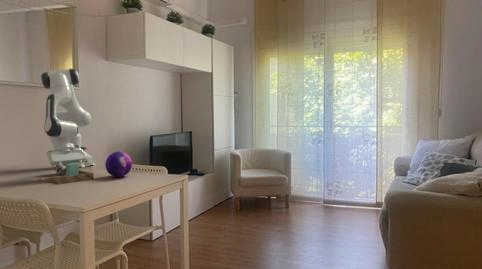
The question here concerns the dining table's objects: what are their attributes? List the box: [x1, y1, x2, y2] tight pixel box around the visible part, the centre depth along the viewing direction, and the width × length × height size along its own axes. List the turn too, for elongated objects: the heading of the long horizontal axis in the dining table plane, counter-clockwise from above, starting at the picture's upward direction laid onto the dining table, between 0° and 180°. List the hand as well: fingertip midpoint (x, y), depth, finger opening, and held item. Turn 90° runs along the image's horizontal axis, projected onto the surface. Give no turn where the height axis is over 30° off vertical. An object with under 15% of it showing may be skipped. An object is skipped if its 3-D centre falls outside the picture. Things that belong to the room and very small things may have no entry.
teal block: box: [65, 163, 79, 176], centre depth 205 cm, size 5×4×8 cm
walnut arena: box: [44, 169, 95, 185], centre depth 205 cm, size 20×18×4 cm
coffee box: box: [55, 164, 66, 176], centre depth 224 cm, size 9×6×16 cm
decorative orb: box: [104, 151, 133, 178], centre depth 215 cm, size 15×15×15 cm
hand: (72, 168), depth 205 cm, fingers open, 8 cm apart
